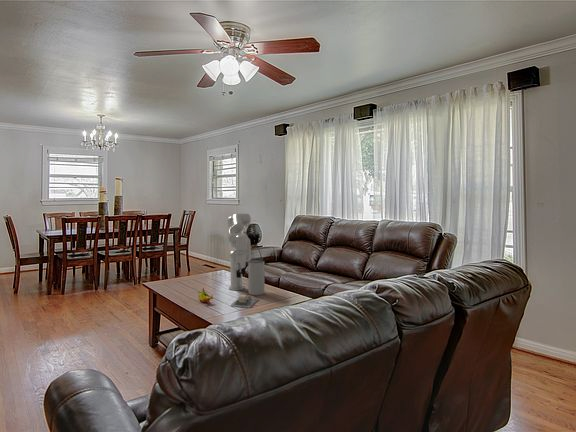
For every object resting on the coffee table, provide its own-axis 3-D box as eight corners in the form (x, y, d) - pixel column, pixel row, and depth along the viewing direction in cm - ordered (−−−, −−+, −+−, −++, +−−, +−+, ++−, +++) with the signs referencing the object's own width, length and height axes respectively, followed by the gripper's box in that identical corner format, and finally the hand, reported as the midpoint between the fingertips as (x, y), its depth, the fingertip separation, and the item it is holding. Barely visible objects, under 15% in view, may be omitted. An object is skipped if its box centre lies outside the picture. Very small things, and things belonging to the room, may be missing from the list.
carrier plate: (240, 298, 278) (240, 295, 278) (258, 299, 275) (258, 296, 275) (230, 306, 259) (230, 302, 258) (249, 307, 256) (249, 304, 255)
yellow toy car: (204, 305, 260) (204, 291, 260) (194, 299, 275) (194, 286, 274) (213, 303, 264) (213, 290, 264) (203, 298, 279) (202, 284, 278)
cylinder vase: (265, 291, 297) (265, 260, 296) (263, 295, 285) (263, 263, 283) (250, 291, 299) (250, 260, 297) (247, 295, 286) (247, 263, 285)
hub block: (241, 301, 266) (241, 295, 265) (247, 302, 265) (247, 295, 264) (238, 303, 261) (238, 296, 261) (244, 304, 260) (244, 297, 260)
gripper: (240, 250, 274) (240, 272, 275) (231, 254, 257) (231, 278, 259) (249, 250, 272) (249, 273, 274) (242, 254, 255) (241, 279, 257)
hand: (241, 275), depth 266 cm, fingers open, 9 cm apart
